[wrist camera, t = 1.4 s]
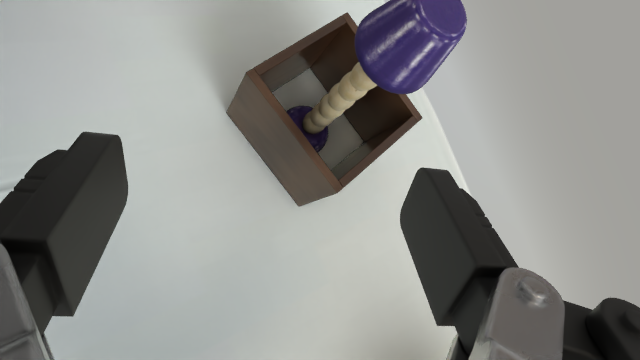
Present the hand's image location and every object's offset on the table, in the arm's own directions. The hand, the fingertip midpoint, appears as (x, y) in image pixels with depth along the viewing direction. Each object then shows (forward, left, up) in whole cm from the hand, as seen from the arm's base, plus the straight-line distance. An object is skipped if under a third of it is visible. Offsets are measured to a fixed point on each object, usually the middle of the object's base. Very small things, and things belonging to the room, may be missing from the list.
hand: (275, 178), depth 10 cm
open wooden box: (-1, +11, -18) cm, 21 cm away
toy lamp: (-1, +11, -18) cm, 21 cm away
